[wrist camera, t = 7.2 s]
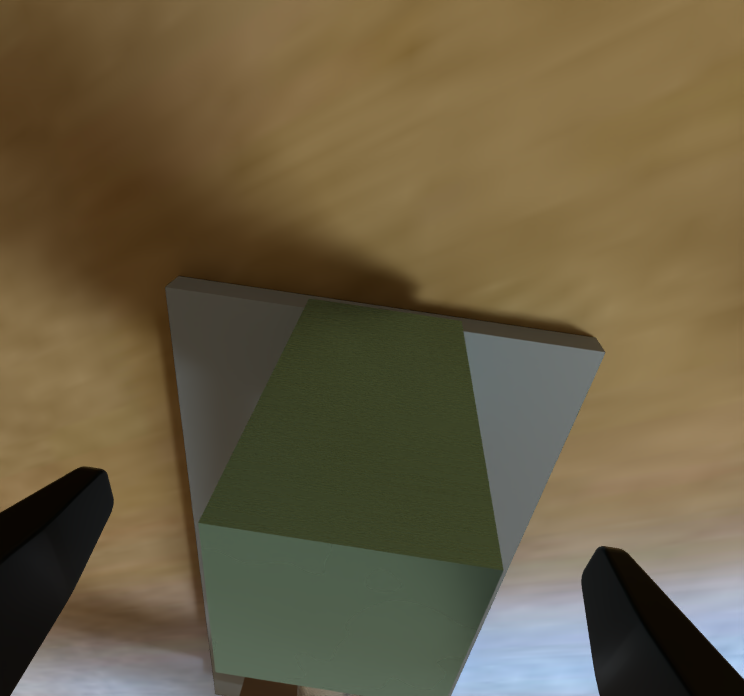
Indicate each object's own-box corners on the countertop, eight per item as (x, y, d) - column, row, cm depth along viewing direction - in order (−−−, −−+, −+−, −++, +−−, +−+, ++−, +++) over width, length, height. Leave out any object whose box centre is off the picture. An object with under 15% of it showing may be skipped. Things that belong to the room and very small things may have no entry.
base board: (435, 712, 25) (435, 729, 25) (220, 677, 26) (215, 694, 25) (595, 337, 13) (605, 352, 12) (178, 276, 13) (165, 287, 13)
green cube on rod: (378, 653, 21) (361, 889, 15) (290, 639, 21) (238, 869, 15) (461, 320, 12) (503, 570, 6) (308, 298, 12) (198, 522, 6)
